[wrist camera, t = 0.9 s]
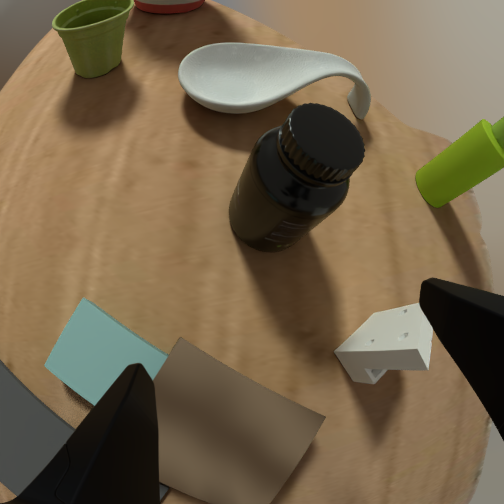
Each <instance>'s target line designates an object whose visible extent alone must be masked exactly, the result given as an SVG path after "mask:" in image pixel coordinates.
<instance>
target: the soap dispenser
mask: <svg viewBox="0 0 504 504" xmlns="http://www.w3.org/2000/svg"><path fill="white" fill-rule="evenodd" d="M502 168H504V117H503V118H501V119H500V120H499V121H498V122H497V123H495V124H494V125H493V126H492V125H491V124H490V123H489V122H488V121H486V120H485V119H482V120H481V121H480V122H479V123H477V124H476V125H475V126H474V127H473V128H471V129H470V130H469V131H468V132H466V133H465V134H464V135H463V136H461V137H460V138H459V139H458V140H456V141H455V142H454V143H453V144H451V145H450V146H449V147H448V148H446V149H445V150H444V151H443V152H441V153H440V154H439V155H437V156H436V157H435V158H434V159H432V160H431V161H430V162H428V163H427V164H426V165H425V166H423V167H422V168H421V169H419V170H418V171H417V173H416V183H417V186H418V189H419V191H420V193H421V195H422V196H423V198H424V199H425V200H426V201H427V202H428V203H429V204H430V205H432V206H433V207H436V208H439V207H441V206H443V205H445V204H446V203H448V202H450V201H451V200H453V199H454V198H456V197H458V196H459V195H461V194H463V193H464V192H466V191H468V190H469V189H471V188H472V187H474V186H475V185H477V184H479V183H480V182H482V181H483V180H485V179H487V178H488V177H490V176H491V175H493V174H494V173H496V172H497V171H499V170H501V169H502Z"/></svg>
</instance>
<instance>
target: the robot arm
mask: <svg viewBox="0 0 504 504" xmlns="http://www.w3.org/2000/svg"><path fill="white" fill-rule="evenodd" d="M419 305H420V308H421V310H422V311H423V313H424V315H425V316H426V318H427V320H428V321H429V323H430V325H431V326H432V328H433V330H434V331H435V333H436V335H437V337H438V338H439V340H440V341H441V343H442V344H443V346H444V347H445V349H446V350H447V351H448V353H449V354H450V356H451V357H452V358H453V360H454V361H455V363H456V364H457V366H458V367H459V369H460V370H461V372H462V373H463V375H464V376H465V378H466V379H467V381H468V382H469V384H470V385H471V387H472V388H473V390H474V391H475V393H476V394H477V396H478V398H479V399H480V401H481V402H482V404H483V406H484V407H485V409H486V411H487V412H488V414H489V416H490V417H491V419H492V421H493V422H494V424H495V426H496V428H497V429H498V431H499V433H500V435H501V437H502V439H503V441H504V296H501V295H498V294H494V293H490V292H487V291H483V290H479V289H475V288H472V287H468V286H464V285H460V284H456V283H453V282H449V281H445V280H441V279H437V278H429V279H427V280H424V281H423V282H422V284H421V290H420V299H419ZM0 504H160V486H159V429H158V418H157V407H156V396H155V386H154V382H153V380H152V378H151V377H150V375H149V374H148V372H147V371H146V369H145V367H144V366H143V365H142V364H141V363H135V364H130V365H128V366H127V367H126V368H125V369H124V370H123V372H122V373H121V374H120V375H119V376H118V378H117V379H116V380H115V381H114V383H113V384H112V385H111V386H110V387H109V389H108V390H107V391H106V392H105V394H104V395H103V396H102V397H101V399H100V400H99V401H98V402H97V403H96V405H95V406H94V407H93V408H92V410H91V411H90V412H89V413H88V415H87V416H86V417H85V418H84V420H83V421H82V422H81V423H80V425H79V426H78V427H77V428H76V430H75V431H74V432H73V433H72V435H71V436H70V437H69V439H68V440H67V441H66V443H65V444H64V445H63V446H62V447H61V449H60V450H59V451H58V452H57V454H56V455H55V456H54V457H53V459H52V460H51V461H50V462H49V463H48V464H47V466H46V467H45V468H44V469H43V470H42V471H41V472H40V473H39V474H38V475H37V476H36V478H35V479H34V480H33V481H32V482H31V483H30V484H29V485H28V486H27V487H26V488H25V489H24V490H23V491H22V492H21V493H20V494H19V495H18V496H17V497H16V498H14V499H13V500H11V501H8V502H5V503H0Z"/></svg>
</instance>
